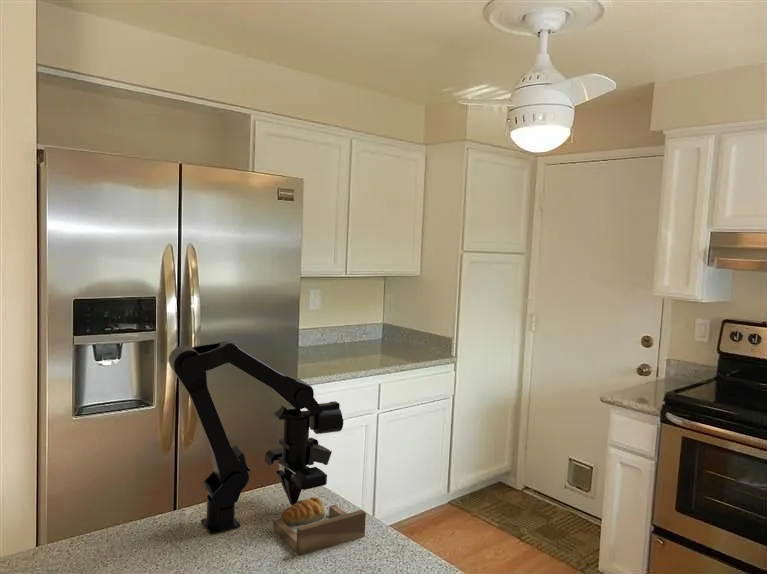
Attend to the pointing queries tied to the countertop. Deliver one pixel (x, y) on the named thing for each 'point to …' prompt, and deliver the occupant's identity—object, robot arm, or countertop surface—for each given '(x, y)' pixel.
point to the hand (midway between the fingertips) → (293, 504)
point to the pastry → (304, 512)
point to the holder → (323, 531)
